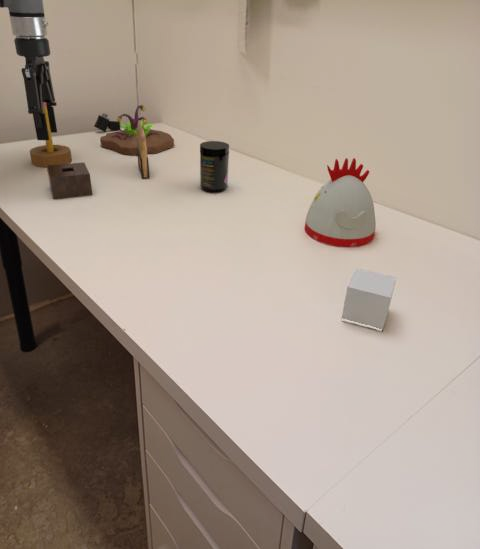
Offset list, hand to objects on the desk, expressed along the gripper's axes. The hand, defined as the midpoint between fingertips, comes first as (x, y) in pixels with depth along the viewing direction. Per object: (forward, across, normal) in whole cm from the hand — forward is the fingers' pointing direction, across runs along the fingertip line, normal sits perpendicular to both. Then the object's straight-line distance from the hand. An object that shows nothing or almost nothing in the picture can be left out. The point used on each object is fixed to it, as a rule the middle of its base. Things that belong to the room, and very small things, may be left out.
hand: (47, 135), depth 123 cm
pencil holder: (+7, -21, -10) cm, 24 cm away
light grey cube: (+7, -70, -65) cm, 96 cm away
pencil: (+7, 0, 0) cm, 7 cm away
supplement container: (+7, -18, -43) cm, 47 cm away
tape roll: (+7, 0, 0) cm, 7 cm away
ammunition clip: (+7, -7, -25) cm, 27 cm away
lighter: (+7, +32, -9) cm, 34 cm away
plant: (+7, +17, -21) cm, 28 cm away
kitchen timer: (+7, -41, -68) cm, 80 cm away
